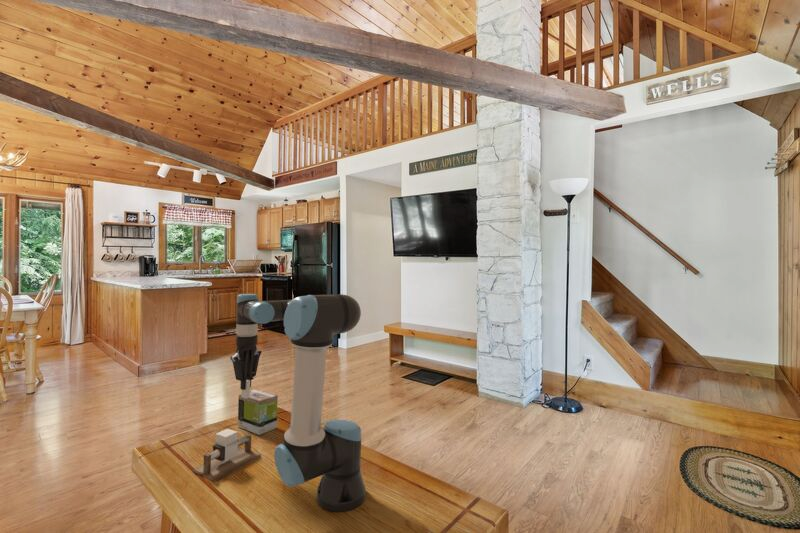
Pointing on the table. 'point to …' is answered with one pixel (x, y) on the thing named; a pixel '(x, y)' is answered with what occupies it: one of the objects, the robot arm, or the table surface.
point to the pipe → (240, 442)
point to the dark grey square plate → (221, 452)
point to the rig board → (227, 463)
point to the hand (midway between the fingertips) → (245, 397)
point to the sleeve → (228, 442)
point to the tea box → (258, 412)
